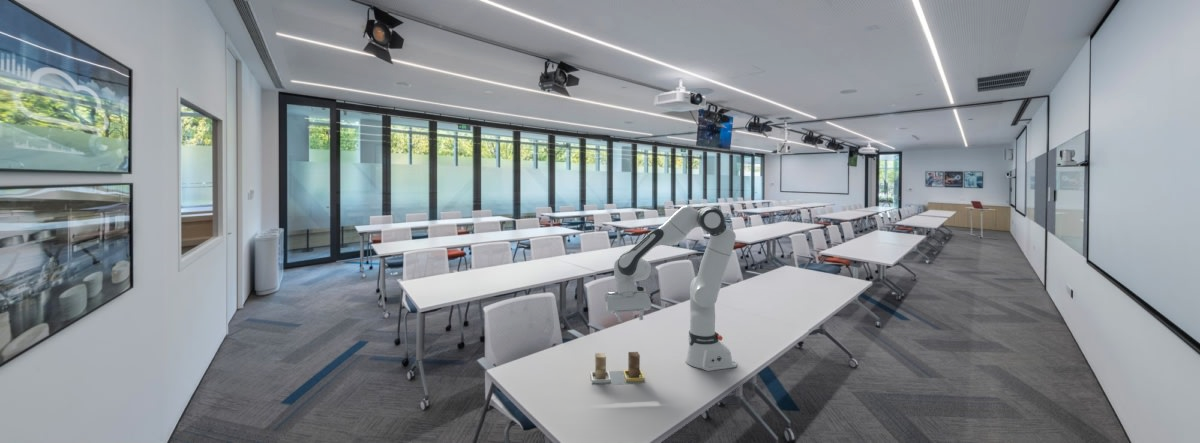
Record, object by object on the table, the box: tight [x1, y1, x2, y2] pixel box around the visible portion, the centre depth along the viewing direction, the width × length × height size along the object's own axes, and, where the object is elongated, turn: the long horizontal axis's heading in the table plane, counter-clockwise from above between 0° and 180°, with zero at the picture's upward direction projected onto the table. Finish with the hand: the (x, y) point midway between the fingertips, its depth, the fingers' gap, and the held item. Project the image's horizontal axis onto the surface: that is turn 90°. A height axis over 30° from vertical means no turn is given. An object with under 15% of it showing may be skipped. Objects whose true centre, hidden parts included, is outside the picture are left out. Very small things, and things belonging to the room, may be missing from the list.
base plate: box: [589, 369, 647, 387], centre depth 180 cm, size 22×12×2 cm, turn 96°
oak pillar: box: [594, 352, 607, 379], centre depth 179 cm, size 4×4×10 cm
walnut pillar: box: [627, 351, 641, 378], centre depth 180 cm, size 4×4×10 cm
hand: (631, 320), depth 192 cm, fingers open, 8 cm apart
